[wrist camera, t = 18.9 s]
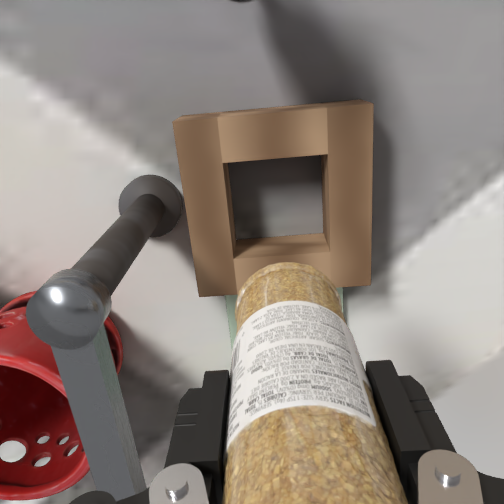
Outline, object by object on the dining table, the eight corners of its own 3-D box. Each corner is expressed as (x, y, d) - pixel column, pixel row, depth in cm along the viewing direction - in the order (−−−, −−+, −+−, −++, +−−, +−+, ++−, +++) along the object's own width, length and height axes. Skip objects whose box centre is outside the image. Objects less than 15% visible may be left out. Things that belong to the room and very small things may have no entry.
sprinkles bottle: (320, 360, 20) (424, 837, 8) (222, 337, 20) (164, 801, 7) (355, 271, 18) (564, 701, 6) (249, 244, 18) (233, 646, 6)
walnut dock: (138, 279, 39) (66, 405, 24) (106, 122, 33) (-10, 164, 19) (360, 263, 38) (420, 385, 23) (360, 99, 32) (438, 125, 18)
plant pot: (88, 415, 45) (31, 531, 34) (-30, 340, 41) (-136, 440, 30) (168, 334, 41) (133, 434, 30) (45, 244, 37) (-45, 319, 26)
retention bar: (36, 271, 21) (15, 290, 19) (103, 265, 21) (88, 284, 19) (113, 516, 27) (102, 548, 25) (165, 513, 27) (157, 546, 25)
